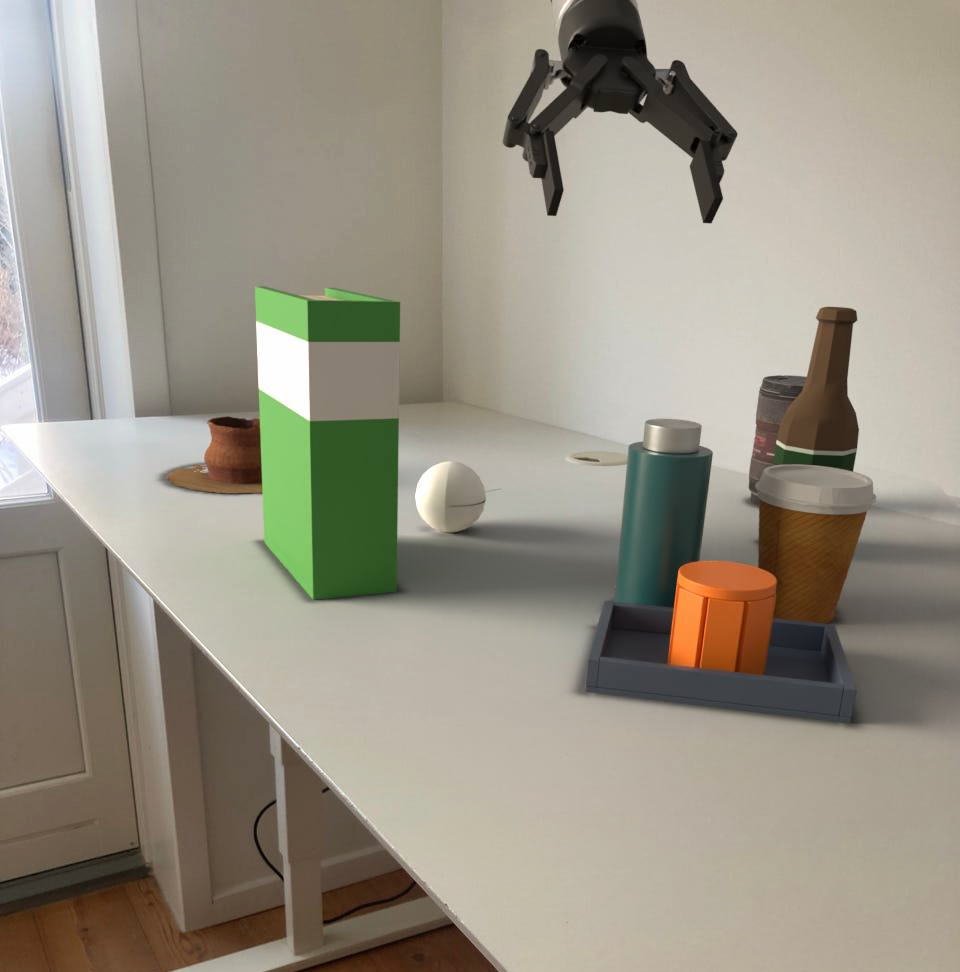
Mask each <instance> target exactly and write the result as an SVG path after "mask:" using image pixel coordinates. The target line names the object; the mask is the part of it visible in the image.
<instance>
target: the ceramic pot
mask: <svg viewBox="0 0 960 972" xmlns="http://www.w3.org/2000/svg"><path fill="white" fill-rule="evenodd" d="M206 424H207V425H208V427H209V432H210V436H211V437H210V438H211V441H210V443H209V444H208V446H207V448H206V450H205V452H204V455H203V459H204V463H205V464H204V465H201V464H193V465H191V466H190V467H182V468H178V469H174V470H172V472H170V473H168V474H167V476H166V477H165V480H168V481H169V482H170V484H172V485H175V486H177V487H181V488H187V489H188V490H191V491H193V490H196V491H197V490H198V491H199V492H207V493H212V492H213V493H216V494H220V493H222V494H261V493H262V494H263V490H262V463H261V436H260V418H254V417H253V418H252V419H246V418H244V417H242V418H240V417H239V418H238V417H233V416H228V415H227V416H218V417H212V418H210V419H208V420H206Z"/></svg>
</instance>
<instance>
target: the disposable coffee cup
mask: <svg viewBox="0 0 960 972" xmlns="http://www.w3.org/2000/svg"><path fill="white" fill-rule="evenodd" d="M755 489H756V490H757V491H758V493H757V496H758V498H759V507H758V513H759V514H758V553H757V554H758V556H757V557H758V558H757V559H758V560H757V567H758V568H760V569H763V570H765V571H767V572H769V573H771V574H772V575H774V576H775V577H776V579H777V585H776V591H775V592H776V601H775V608H774V614H773V618H777V619H786V620H796V621H805V622H815V623H823V624H829V623H830V622H831V621H833V620H834V617H835V613H836V610H837V607H838V605H839V601H840V598H841V595H842V592H843V588H844V585H845V583H846V580H847V576H848V573H849V571H850V567H851V564H852V560H853V557H854V555H855V551H856V548H857V545H858V542H859V539H860V537H861V533H862V529H863V526H864V523H865V521H866V517H867V513H868V511H870V510H871V508H872V506H873V504H874V503H875V502H876V501H877V496H876V494H875V493H874V482H873V479H872V478H870V477H869V476H867V475H866V474H862V473H860V472H856V471H853V472H852V471H848V470H843V469H838V468H832V467H824V466H815V465H797V464H793V465H776V466H770V467H767V468H765V469H764V471H763V474H762V476H761V479H760V481H759V482H757V483H756V485H755Z"/></svg>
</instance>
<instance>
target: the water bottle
mask: <svg viewBox="0 0 960 972" xmlns="http://www.w3.org/2000/svg"><path fill="white" fill-rule="evenodd" d="M702 428H703V426H702V424H701V423H698V422H696V421H691V420H686V419H680V418H679V419H677V418H650V419H647V420H645V421H644V428H643V438H642V441H636V442H633V443H630V444H629V445H628V449H627V451H628V452H627V460H626V461H627V462H626V471H625V482H624V491H623V492H624V494H623V505H622V513H621V523H620V525H621V526H620V535H619V545H618V556H617V567H616V568H617V569H616V576H615V577H616V578H615V588H614V598H613V601H614V602H623V603H633V604H642V605H652V606H662V607H671V608H674V604H675V596H676V587H677V578H678V571H679V569H680V567H681V566H683V565H685V564H688V563H692V562H697V561H701V552H702V543H703V535H704V528H705V520H706V512H707V503H708V497H709V496H708V495H709V488H710V479H711V472H712V463H713V455H714V452H713V450H712V449H710V448H708V447H705V446H702V445H701V438H702V437H701V436H702Z"/></svg>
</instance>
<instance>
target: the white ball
mask: <svg viewBox="0 0 960 972" xmlns="http://www.w3.org/2000/svg"><path fill="white" fill-rule="evenodd" d="M499 490H501V488H496V489H491V490H486V491H485V486H484V483H483V481H482V479H481V476H480V475H479V474H478V473H477V472H476V471H474V469H473V468H471V467H470V466H468V465H466V464H464V463H462V462H459V461H442V462H439V463H437V464H435V465H432V466H430V467H429V469H427V470H426V471H425V472H424V473H423V474H422V476H421V477H420V479H419V481H418V482H417V485H416V491H415V505H416V509H417V511H418V513H419V515H420V517H421V519H422V520H423V521H424V522H425V523H426V524H427V525H428V526H430V527H431V528H433V529H435V530H438V531H439V532H443V533H448V534H450V533H451V534H453V533H458V532H461V531H464V530H467V529H470V527H471V526H472V525H473V524H475V523H476V522H477V521H478V520H479V519H480V517H481V515H482V513H483V512H484V508H485V505H486V501H487V500H486V499H487V498H486V493H489V492H490V493H491V492H493V491H499Z"/></svg>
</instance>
